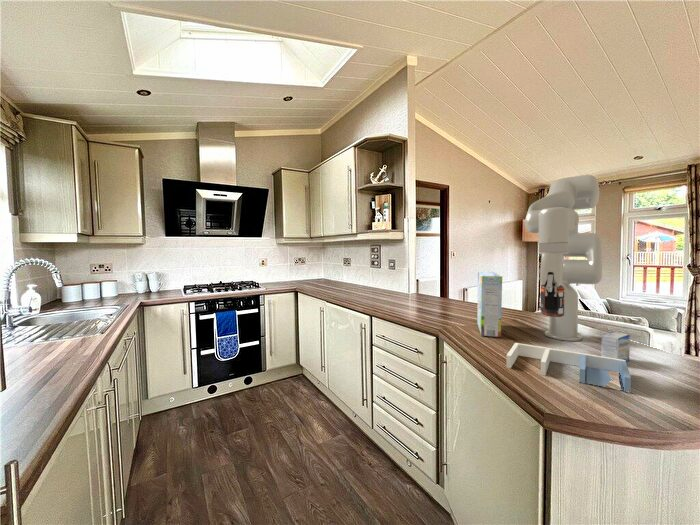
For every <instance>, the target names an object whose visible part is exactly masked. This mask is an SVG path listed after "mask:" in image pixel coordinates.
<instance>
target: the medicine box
mask: <svg viewBox="0 0 700 525" xmlns="http://www.w3.org/2000/svg"><path fill="white" fill-rule="evenodd" d="M630 340H631V337H630V334H627V333H622V332H618V331H612V332H610V333H607V334H604V335H601V356H603V357H609V358H616V359H622V360H626V362H629V361H630V342H631V341H630ZM628 360H629V361H628Z"/></svg>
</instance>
